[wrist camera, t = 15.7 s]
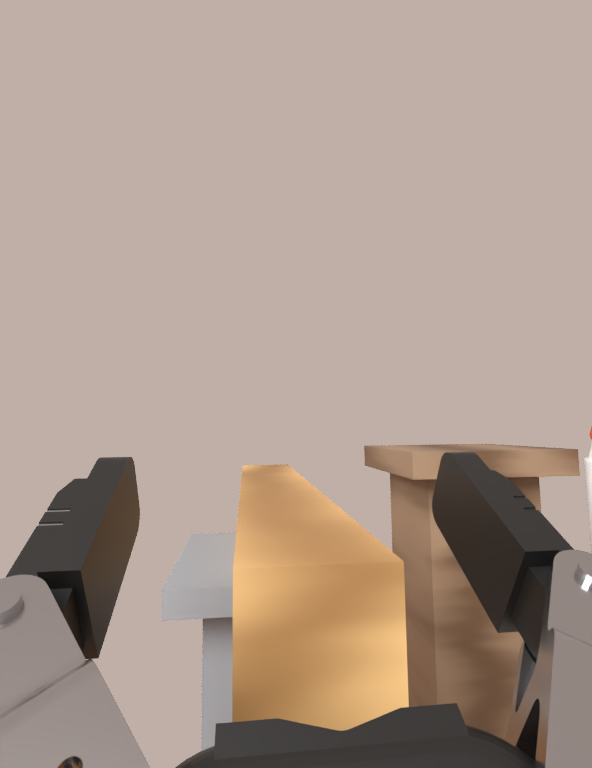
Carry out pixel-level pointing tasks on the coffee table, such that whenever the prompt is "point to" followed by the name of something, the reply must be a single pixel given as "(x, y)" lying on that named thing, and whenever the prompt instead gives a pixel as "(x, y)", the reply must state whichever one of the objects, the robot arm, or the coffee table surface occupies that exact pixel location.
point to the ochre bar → (313, 609)
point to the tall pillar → (455, 582)
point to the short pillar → (207, 618)
